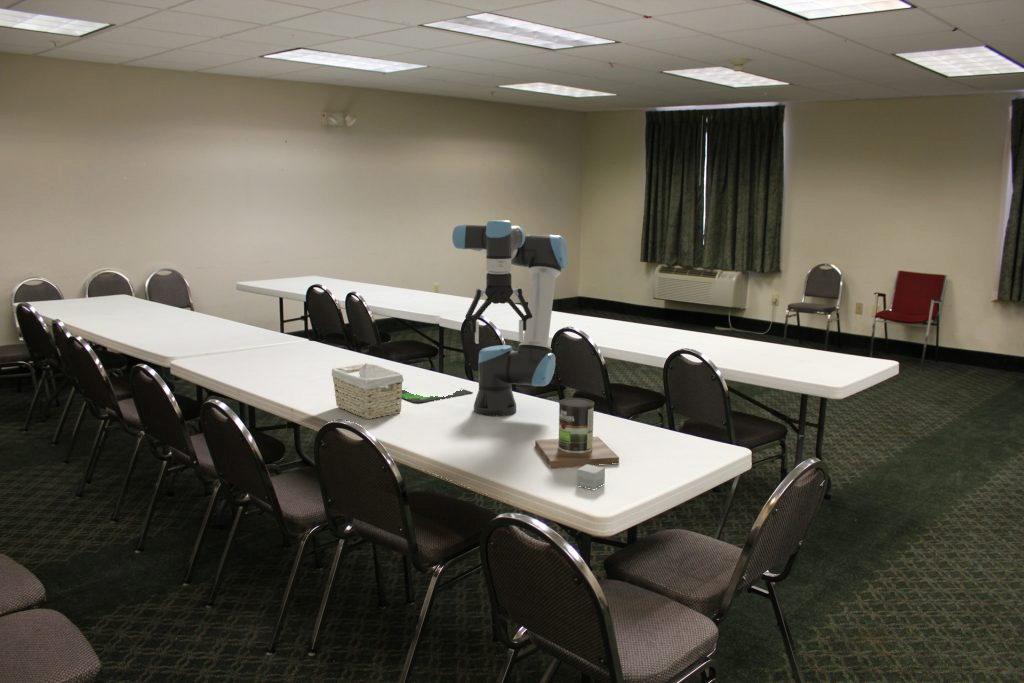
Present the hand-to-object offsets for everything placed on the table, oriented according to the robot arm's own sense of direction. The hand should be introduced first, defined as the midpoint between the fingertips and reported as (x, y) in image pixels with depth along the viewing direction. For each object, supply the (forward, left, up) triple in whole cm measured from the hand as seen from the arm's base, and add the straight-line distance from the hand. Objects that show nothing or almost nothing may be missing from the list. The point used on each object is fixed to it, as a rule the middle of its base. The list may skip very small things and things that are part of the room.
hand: (498, 342), depth 240 cm
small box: (+42, +17, -32) cm, 55 cm away
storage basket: (-44, -39, -32) cm, 67 cm away
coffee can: (+17, +20, -30) cm, 40 cm away
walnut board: (+17, +20, -31) cm, 41 cm away
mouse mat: (-65, -15, -32) cm, 74 cm away
